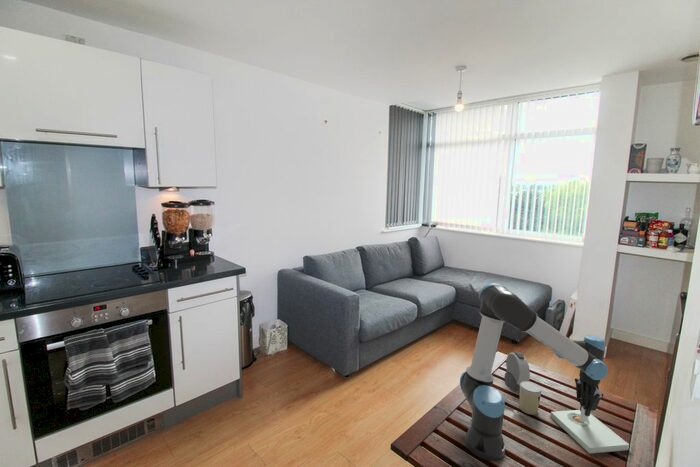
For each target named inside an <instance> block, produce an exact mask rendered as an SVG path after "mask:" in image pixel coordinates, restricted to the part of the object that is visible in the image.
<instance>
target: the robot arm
mask: <svg viewBox="0 0 700 467" xmlns="http://www.w3.org/2000/svg"><path fill="white" fill-rule="evenodd" d="M478 298H479V302H480V307H479V314H480V316H481V321H480V325H479V330H478V333H477V338H476V342H475V346H474V351H473V354H472V360H471V364H470V365H469V366H468V367H466V370H465V371H464V372H462V373H461V375H460V378H459V385H460V389H461V392H462V394H463V395H464V397H465V399H466V401H467V403H468V405H469V406H470V409H471V421H470V422H471V423H470V426H469V427H468V430H467V432H466V433H465V441H464V442H465V443H464V444H465V446H466V448H467V449H468V450H469V451H470V452H471V453H472V454H473V455H474V456H477V458H480V459H481V460H482V459H483V460H486V461H493V462H494V461H499V460H501V459H503V457H505V452H506V451H505V450H506V445H505V442H504V438H503V434H502V433H503V425H504V415H505V408H506V405H505V403H506V402H505V399H504V396H503V395H502V394H503V393H501V392H500V391H499V390H498V389H495V387H493V383H494V380H495V379H494V378H495V377H494V375H493V374H492V371H493V367H494V362H495V358H496V353H497V350H498V346H499V342H500V339H501V333H502V330H503V325H504V323H507V325H510V326H512V327H513V328H515V329H517V330H518V331H519V332H522V333H527V335H528V334H529V335H530V336H531V337H532V338H534V339H536V340H537V341H539V342H540V343H542V344H543V346H545V347H547V348H549V349H550V350H551V351H553V352H554V355H556V357H557V358H558V359H564V360H566V361H568V362H569V363H571V364H572V365H573V366H575V368H577V369H579V373H578V374H579V376H578V378H574V382H575V392H576V401H577V402H579V405H580V407H579V410H580V411H581V414H580V420H581V421H582V422H588V417H589V416H590V414H591V412H592V411H594V412H595V411H596V410H597V407H598V405H599V403H600V402H601V399H602V398H603V397H604V394H603V393H601V392H600V387H599V385H600V383H601V380H603V379H604V378H606V377H607V376H608V373H609V369H608V365H607V364H606V363H604V358H605V352H606V341H605V339H604V338H602V337H600V336H597V335H592V334H587V335H585V336H584V338H583V340H572V339H570V338H569V337H567V336H566V335H565V334H563V333H562V332H561V331H559V330H557V329H556V328H555V327H553V326H552V325H550V324H549V323H548V322H546V321H545V320H543V319H542V318H540V317H539V316H538V313H537V312H536V311H535V310H534V309H532V308H531V307H530V306H528V305H527V304H526V303H525V302H524V301H523V300H522V299H521V298H520V297H518V295H516V294H515V293H513V292H512V291H511V290H509V289H508V288H507V287H505V286H504V285H502V284H500V283H495V282H493V283H488V284H486V285H484V286H483V287H482V288H481V289H480V291H479V293H478Z"/></svg>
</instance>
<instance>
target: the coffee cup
mask: <svg viewBox="0 0 700 467" xmlns="http://www.w3.org/2000/svg"><path fill="white" fill-rule="evenodd" d="M542 392H543V390H542V388H541V387H540V385H539V384H537V383H535V382H532V381H530V380H529V381H523V382H521V383H520V391H519V400H518V401H519V409H520V410H521V411H522V412H523V413H525V414H527V415H536V414H538V410H539V407H540V406H539V404H540V401H541V395H542Z"/></svg>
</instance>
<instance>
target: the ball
mask: <svg viewBox="0 0 700 467" xmlns="http://www.w3.org/2000/svg"><path fill="white" fill-rule="evenodd" d="M574 420H575V421H577V422H580V423H583V422H582V421H581V420H580V417H574Z"/></svg>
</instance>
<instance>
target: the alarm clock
mask: <svg viewBox="0 0 700 467" xmlns="http://www.w3.org/2000/svg"><path fill="white" fill-rule="evenodd" d="M505 362H506V363H505V364H506V365H505V368H506V372H505V373H504V377H503V380H504V382H505V384H506V385H507V386H508V388H509V389H511V390H512V391H514V392H520V383H521V382H523V381H529V382H530V378H531V377H530V375H531V372H530V365H529V362H528V359H527V358H526V356H525V355H524V354H523V352H521V351H517V350H515V351H513V352H510V353H508V355H507V356H506V361H505Z"/></svg>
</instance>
